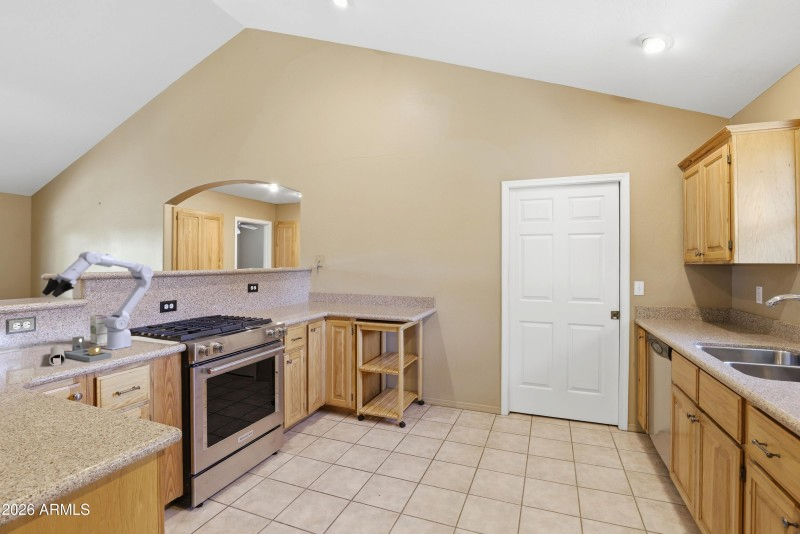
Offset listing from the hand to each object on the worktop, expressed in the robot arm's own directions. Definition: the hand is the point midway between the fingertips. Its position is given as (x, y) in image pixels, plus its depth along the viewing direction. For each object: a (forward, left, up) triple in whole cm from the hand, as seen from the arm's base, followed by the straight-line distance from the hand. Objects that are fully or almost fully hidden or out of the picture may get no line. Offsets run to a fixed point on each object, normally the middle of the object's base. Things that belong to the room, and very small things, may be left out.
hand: (49, 295), depth 173 cm
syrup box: (-30, -17, -29) cm, 45 cm away
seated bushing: (-10, +15, -29) cm, 34 cm away
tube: (-2, +2, -29) cm, 29 cm away
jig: (-10, +10, -29) cm, 32 cm away
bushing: (-14, -5, -29) cm, 33 cm away
